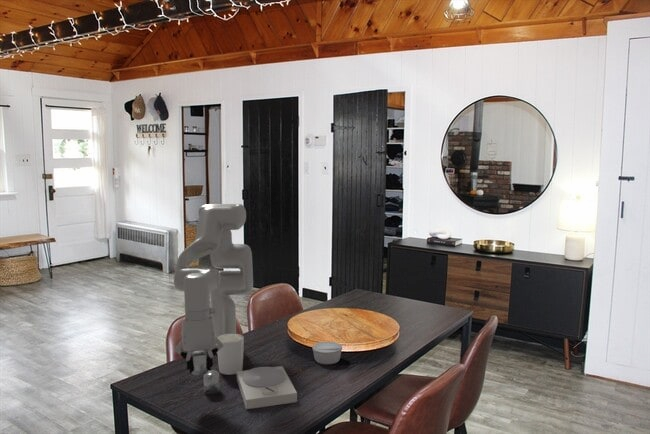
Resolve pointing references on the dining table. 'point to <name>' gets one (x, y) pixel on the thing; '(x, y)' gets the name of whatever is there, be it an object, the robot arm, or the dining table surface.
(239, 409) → the dining table surface
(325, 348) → the ramekin
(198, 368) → the disc
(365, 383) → the dining table surface
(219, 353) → the candle holder
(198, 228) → the robot arm
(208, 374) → the cylinder
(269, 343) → the dining table surface
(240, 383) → the scale
